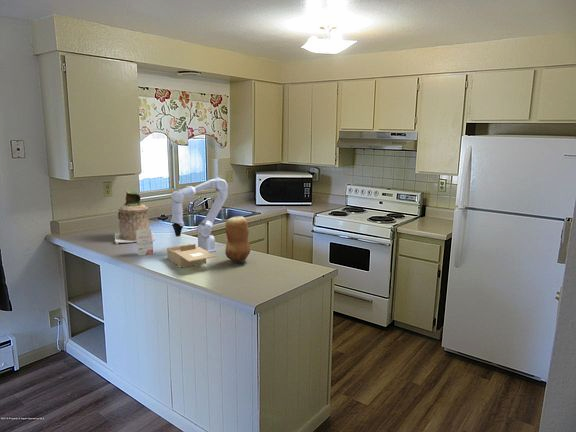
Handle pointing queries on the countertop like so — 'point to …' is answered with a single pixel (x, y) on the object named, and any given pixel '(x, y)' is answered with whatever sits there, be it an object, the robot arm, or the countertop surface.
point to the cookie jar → (132, 219)
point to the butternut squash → (237, 239)
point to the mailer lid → (193, 253)
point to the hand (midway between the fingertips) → (178, 236)
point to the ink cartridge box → (144, 242)
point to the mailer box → (180, 260)
